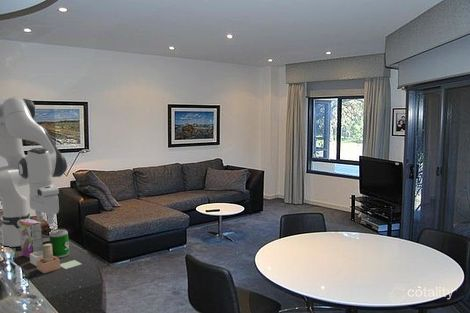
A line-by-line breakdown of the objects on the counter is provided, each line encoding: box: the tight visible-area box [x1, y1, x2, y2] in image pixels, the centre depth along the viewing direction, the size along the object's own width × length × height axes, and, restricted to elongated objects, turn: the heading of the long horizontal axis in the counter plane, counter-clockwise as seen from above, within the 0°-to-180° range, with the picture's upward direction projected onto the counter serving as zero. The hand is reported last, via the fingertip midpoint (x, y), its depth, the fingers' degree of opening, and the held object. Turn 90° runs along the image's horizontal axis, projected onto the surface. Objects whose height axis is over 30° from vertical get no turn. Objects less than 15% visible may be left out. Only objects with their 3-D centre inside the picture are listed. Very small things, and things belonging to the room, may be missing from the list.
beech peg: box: [42, 243, 53, 263], centre depth 166 cm, size 4×4×10 cm
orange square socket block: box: [36, 256, 61, 274], centre depth 166 cm, size 7×7×4 cm
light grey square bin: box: [29, 250, 43, 267], centre depth 174 cm, size 7×7×4 cm
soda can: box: [48, 228, 70, 259], centre depth 181 cm, size 8×8×12 cm
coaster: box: [60, 259, 82, 270], centre depth 171 cm, size 7×7×1 cm
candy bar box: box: [19, 218, 44, 259], centre depth 182 cm, size 11×5×16 cm, turn 53°
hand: (45, 222), depth 165 cm, fingers open, 8 cm apart
